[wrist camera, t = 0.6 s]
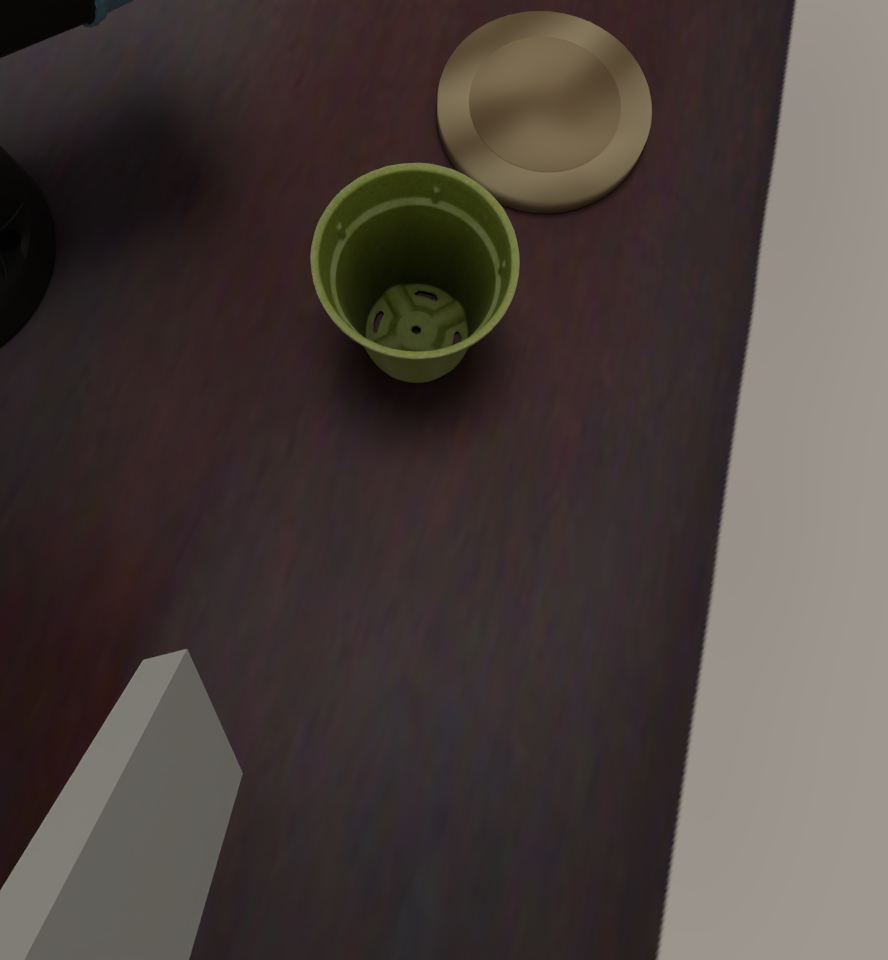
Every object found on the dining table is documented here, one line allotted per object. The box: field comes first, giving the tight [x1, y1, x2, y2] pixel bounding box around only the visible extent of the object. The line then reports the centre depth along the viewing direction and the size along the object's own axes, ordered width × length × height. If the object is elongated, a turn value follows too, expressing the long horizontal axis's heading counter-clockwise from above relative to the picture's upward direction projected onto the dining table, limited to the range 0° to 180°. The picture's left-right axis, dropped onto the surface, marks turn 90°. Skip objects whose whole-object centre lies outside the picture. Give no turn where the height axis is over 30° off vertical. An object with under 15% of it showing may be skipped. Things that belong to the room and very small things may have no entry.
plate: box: [437, 11, 652, 214], centre depth 39 cm, size 13×13×1 cm
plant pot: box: [311, 163, 519, 383], centre depth 33 cm, size 9×9×9 cm
